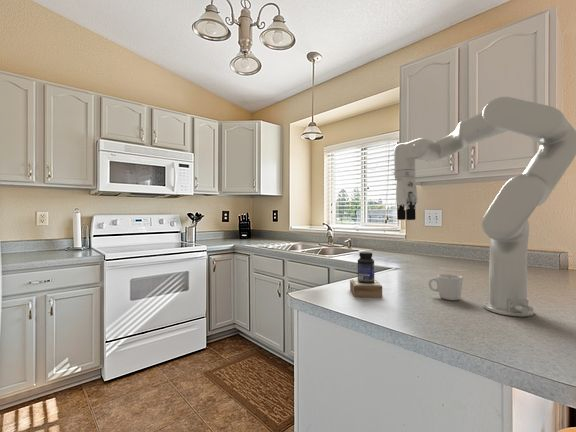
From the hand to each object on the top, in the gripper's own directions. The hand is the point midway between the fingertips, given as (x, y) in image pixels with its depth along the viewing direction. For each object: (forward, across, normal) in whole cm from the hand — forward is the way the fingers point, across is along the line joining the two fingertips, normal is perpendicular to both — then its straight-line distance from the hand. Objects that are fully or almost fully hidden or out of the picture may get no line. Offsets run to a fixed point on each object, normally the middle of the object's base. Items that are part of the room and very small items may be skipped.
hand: (406, 219), depth 118 cm
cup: (+28, -10, -10) cm, 31 cm away
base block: (+27, -4, +17) cm, 32 cm away
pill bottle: (+23, -4, +17) cm, 29 cm away
